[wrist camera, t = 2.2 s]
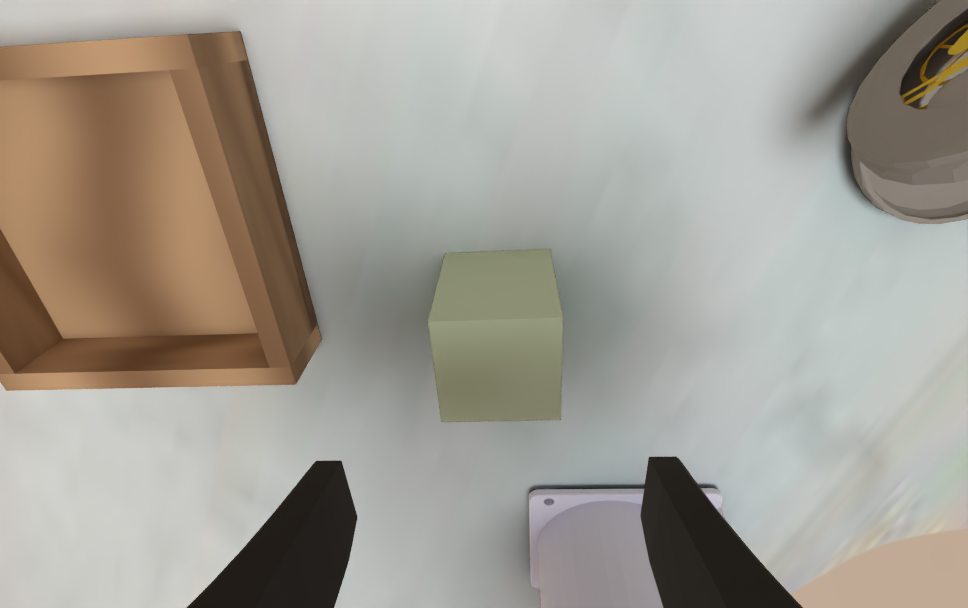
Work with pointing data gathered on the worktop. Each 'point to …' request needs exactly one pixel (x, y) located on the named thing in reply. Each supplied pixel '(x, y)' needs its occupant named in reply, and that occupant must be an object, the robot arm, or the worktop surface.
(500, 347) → the sage block
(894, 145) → the pocket watch
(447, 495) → the worktop surface
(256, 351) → the walnut tray
